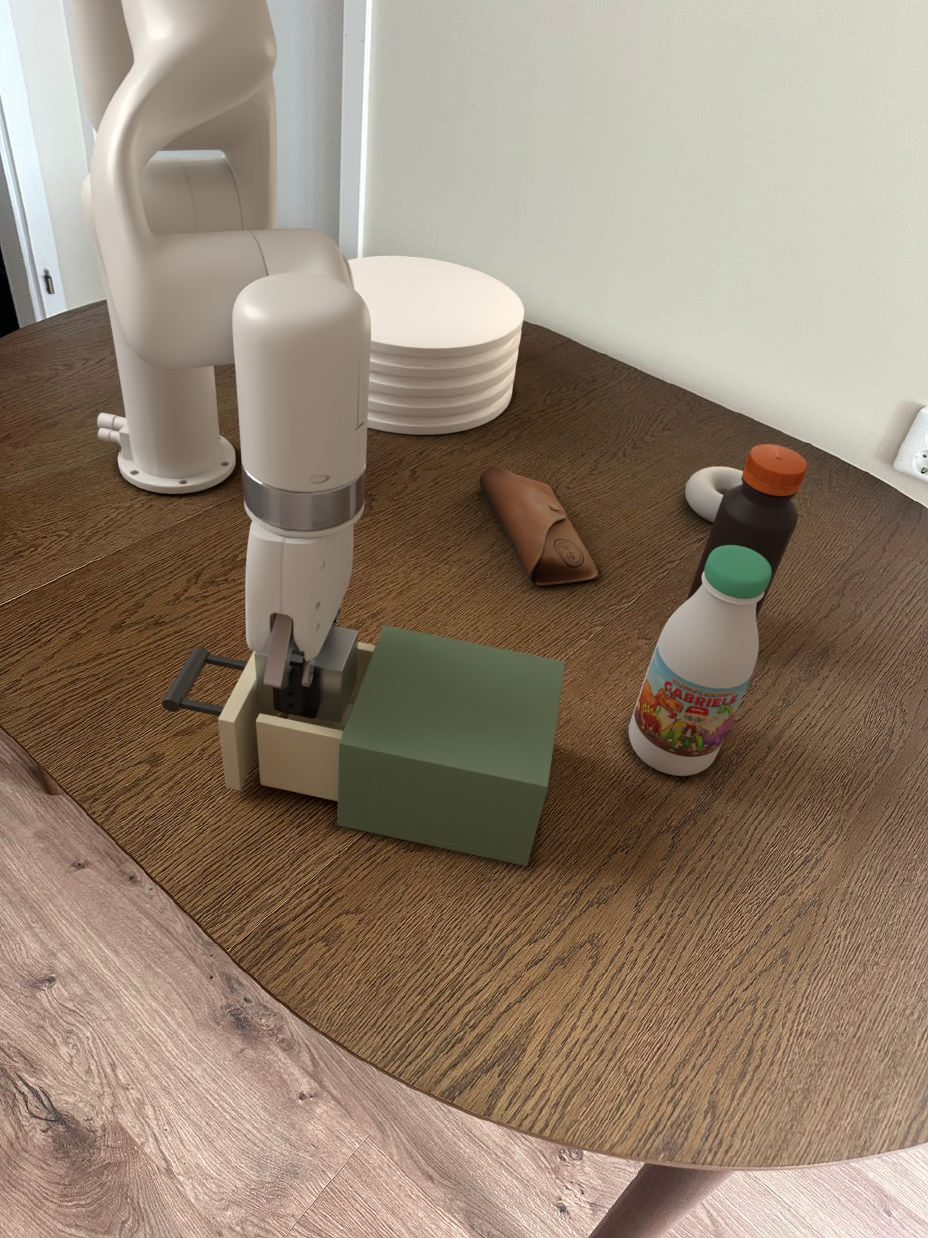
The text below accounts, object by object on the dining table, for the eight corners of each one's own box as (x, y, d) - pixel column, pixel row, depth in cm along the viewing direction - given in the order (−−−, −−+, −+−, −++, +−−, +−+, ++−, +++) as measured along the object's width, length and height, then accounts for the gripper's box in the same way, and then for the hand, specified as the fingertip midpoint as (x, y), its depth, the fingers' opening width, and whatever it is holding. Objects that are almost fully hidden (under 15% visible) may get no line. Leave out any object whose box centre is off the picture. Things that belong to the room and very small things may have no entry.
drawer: (153, 772, 70) (140, 703, 64) (211, 670, 78) (203, 602, 73) (398, 825, 68) (404, 758, 63) (429, 715, 77) (437, 649, 72)
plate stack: (393, 317, 137) (398, 240, 130) (550, 383, 126) (565, 303, 119) (258, 377, 119) (254, 291, 111) (427, 460, 108) (436, 371, 101)
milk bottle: (618, 710, 81) (676, 528, 68) (701, 710, 82) (774, 531, 69) (637, 779, 75) (705, 595, 62) (726, 779, 76) (811, 598, 63)
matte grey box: (257, 705, 68) (254, 653, 64) (277, 665, 71) (274, 613, 68) (340, 723, 67) (342, 671, 64) (356, 682, 71) (358, 630, 67)
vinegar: (665, 616, 91) (723, 443, 78) (720, 604, 94) (785, 433, 80) (703, 662, 87) (771, 486, 74) (760, 647, 89) (836, 474, 76)
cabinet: (337, 825, 69) (338, 743, 62) (378, 707, 78) (383, 624, 72) (526, 867, 68) (548, 787, 61) (545, 741, 77) (565, 661, 71)
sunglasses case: (606, 575, 94) (586, 534, 90) (546, 608, 95) (523, 569, 90) (545, 480, 107) (525, 439, 102) (493, 509, 108) (470, 470, 103)
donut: (762, 543, 103) (769, 497, 110) (772, 519, 101) (779, 473, 108) (675, 519, 105) (688, 475, 112) (683, 495, 102) (695, 451, 110)
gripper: (290, 409, 63) (294, 606, 75) (192, 552, 51) (217, 761, 63) (395, 428, 63) (383, 623, 75) (323, 578, 50) (322, 783, 62)
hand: (307, 684), depth 69 cm, fingers open, 4 cm apart
